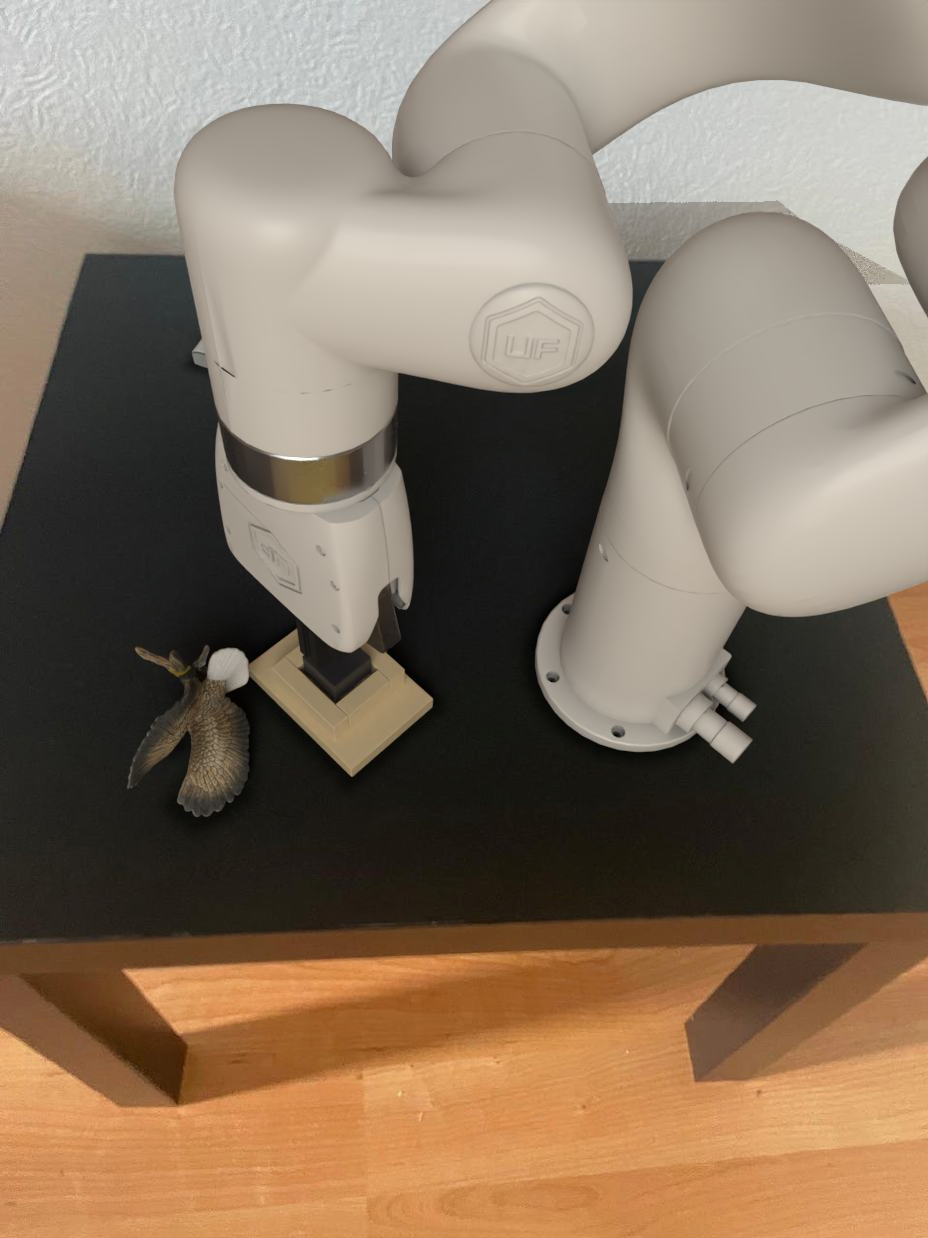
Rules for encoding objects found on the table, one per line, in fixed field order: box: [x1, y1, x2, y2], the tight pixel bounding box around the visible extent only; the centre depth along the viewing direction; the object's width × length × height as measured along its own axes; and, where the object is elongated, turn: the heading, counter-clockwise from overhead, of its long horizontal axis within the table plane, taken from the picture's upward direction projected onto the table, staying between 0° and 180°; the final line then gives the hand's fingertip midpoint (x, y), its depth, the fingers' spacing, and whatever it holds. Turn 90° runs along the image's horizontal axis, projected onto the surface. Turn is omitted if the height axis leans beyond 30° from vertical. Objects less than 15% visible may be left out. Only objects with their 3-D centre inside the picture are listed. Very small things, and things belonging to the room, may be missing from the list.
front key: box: [302, 647, 372, 700], centre depth 57 cm, size 3×3×2 cm
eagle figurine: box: [126, 644, 251, 818], centre depth 54 cm, size 8×7×9 cm
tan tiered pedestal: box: [248, 628, 434, 777], centre depth 58 cm, size 10×7×3 cm
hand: (329, 646), depth 55 cm, fingers closed
